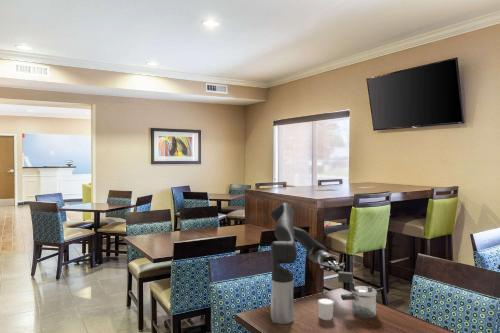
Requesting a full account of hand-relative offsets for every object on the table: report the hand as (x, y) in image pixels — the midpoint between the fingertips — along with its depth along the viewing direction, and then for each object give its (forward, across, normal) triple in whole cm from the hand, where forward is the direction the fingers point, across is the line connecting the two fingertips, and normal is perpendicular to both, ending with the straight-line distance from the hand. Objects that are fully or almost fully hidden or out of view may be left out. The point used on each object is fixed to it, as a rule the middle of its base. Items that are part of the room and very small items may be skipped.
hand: (338, 271), depth 169 cm
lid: (+8, +5, +7) cm, 12 cm away
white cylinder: (+11, -10, +16) cm, 22 cm away
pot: (+9, +5, +16) cm, 19 cm away
